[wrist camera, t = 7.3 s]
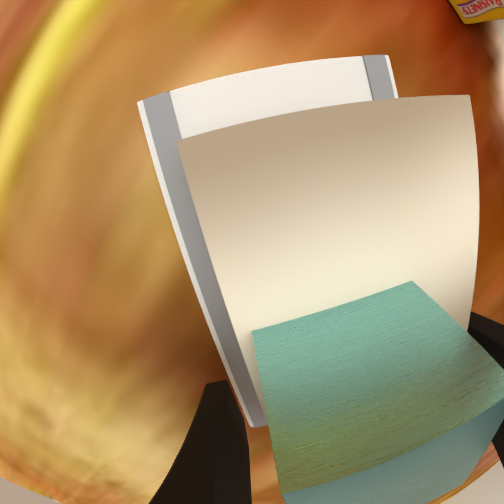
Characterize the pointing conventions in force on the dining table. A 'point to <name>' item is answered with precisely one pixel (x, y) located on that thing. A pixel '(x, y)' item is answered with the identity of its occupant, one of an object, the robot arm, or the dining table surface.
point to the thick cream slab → (338, 208)
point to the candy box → (478, 10)
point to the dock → (231, 113)
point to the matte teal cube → (377, 400)
